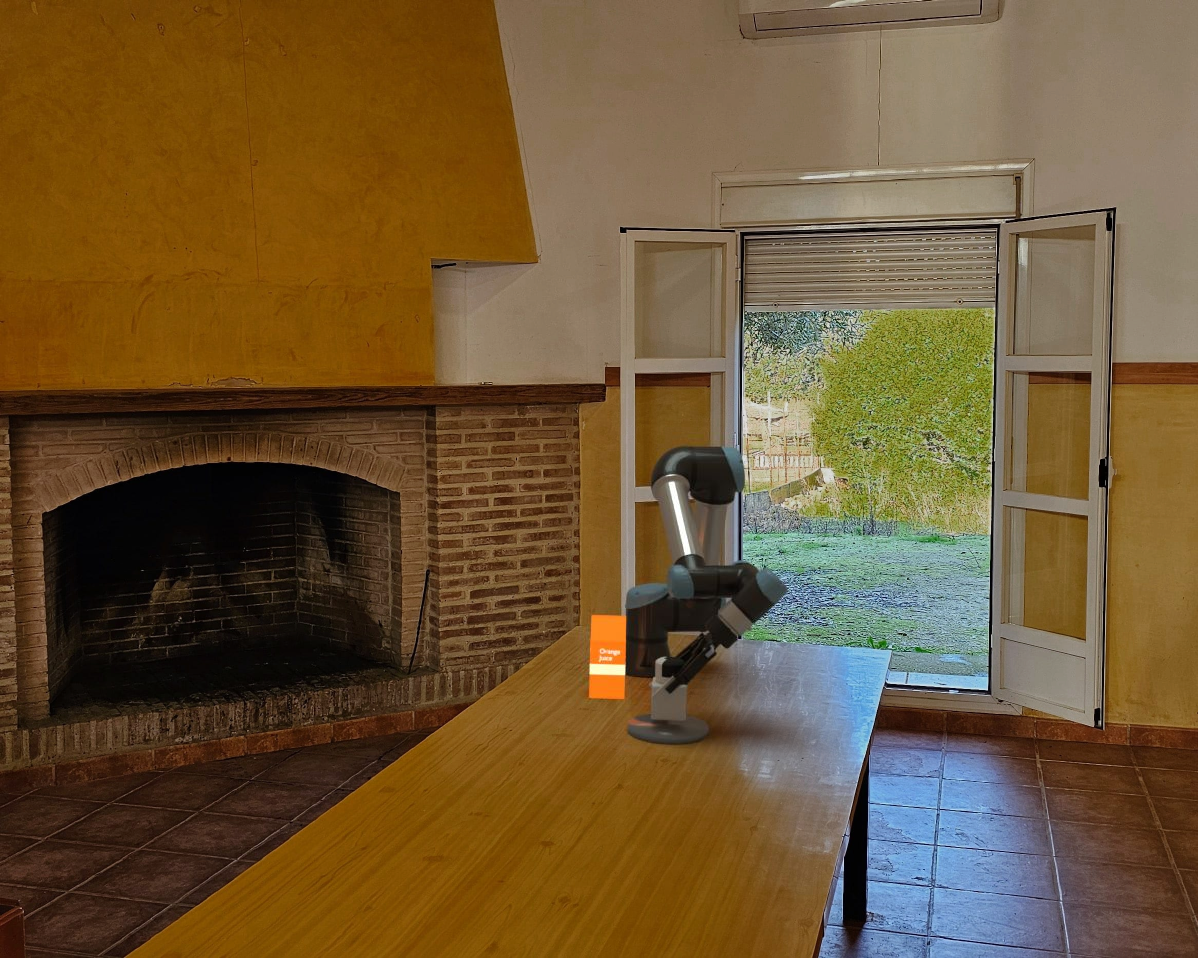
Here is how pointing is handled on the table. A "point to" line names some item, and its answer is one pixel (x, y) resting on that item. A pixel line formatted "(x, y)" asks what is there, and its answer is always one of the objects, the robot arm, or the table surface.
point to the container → (678, 700)
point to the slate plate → (668, 730)
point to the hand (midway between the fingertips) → (654, 694)
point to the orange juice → (607, 657)
